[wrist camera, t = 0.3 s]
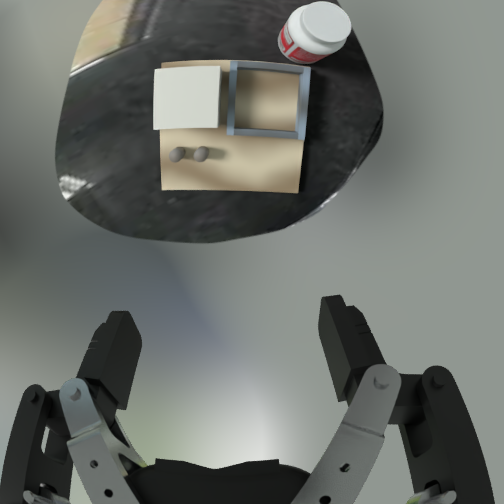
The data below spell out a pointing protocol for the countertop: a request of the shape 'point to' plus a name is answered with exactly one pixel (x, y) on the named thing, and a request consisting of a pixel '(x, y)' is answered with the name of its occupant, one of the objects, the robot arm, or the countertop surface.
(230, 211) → the countertop surface
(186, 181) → the base board
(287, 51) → the pill bottle
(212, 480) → the robot arm
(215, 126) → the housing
